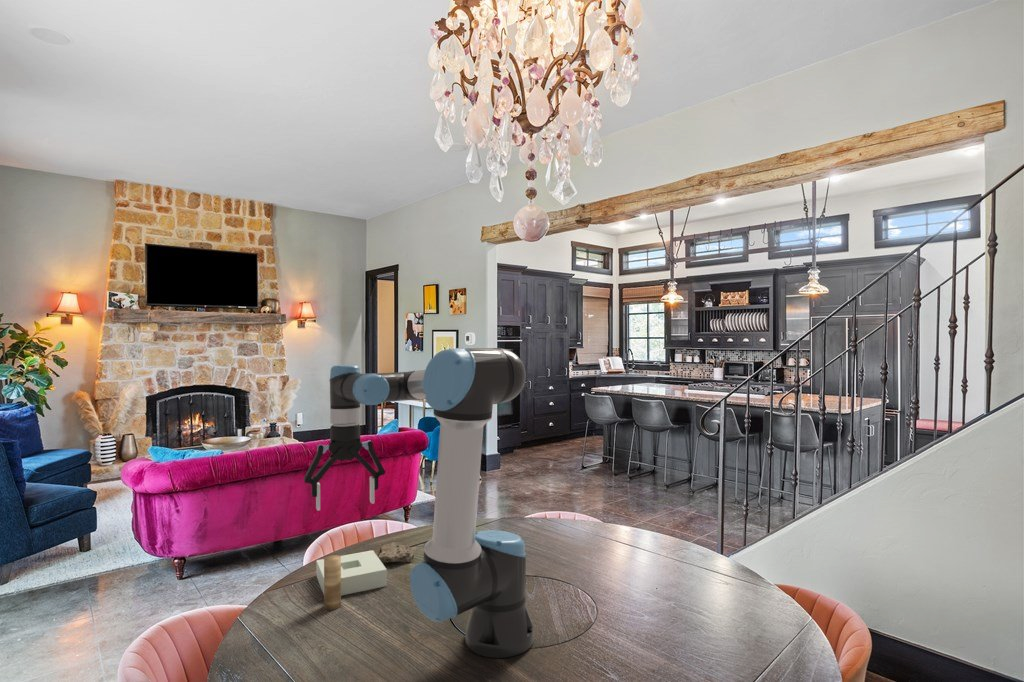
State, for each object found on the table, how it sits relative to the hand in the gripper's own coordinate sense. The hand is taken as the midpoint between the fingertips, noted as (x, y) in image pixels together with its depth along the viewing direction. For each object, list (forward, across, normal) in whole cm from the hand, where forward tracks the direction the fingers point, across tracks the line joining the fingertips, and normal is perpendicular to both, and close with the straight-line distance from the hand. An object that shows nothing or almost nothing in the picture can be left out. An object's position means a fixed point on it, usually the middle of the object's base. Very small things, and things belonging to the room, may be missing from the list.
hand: (345, 505), depth 142 cm
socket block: (+24, -3, -10) cm, 26 cm away
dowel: (+24, +4, +4) cm, 24 cm away
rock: (+24, -18, -19) cm, 35 cm away
